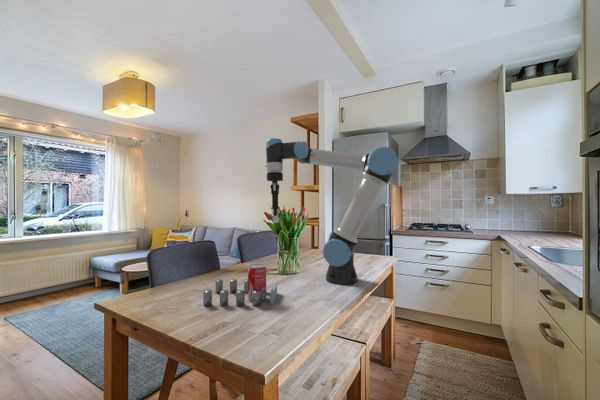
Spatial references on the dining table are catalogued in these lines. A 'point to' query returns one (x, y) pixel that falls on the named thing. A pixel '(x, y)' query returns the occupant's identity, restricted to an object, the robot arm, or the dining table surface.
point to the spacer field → (233, 289)
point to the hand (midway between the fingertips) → (275, 222)
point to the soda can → (257, 280)
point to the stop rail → (273, 293)
